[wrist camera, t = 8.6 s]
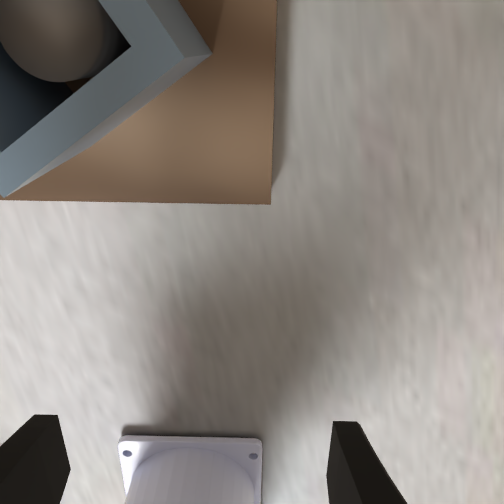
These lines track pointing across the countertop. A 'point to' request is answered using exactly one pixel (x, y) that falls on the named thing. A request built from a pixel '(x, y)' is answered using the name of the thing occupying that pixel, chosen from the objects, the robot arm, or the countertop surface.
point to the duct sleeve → (92, 91)
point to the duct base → (159, 105)
